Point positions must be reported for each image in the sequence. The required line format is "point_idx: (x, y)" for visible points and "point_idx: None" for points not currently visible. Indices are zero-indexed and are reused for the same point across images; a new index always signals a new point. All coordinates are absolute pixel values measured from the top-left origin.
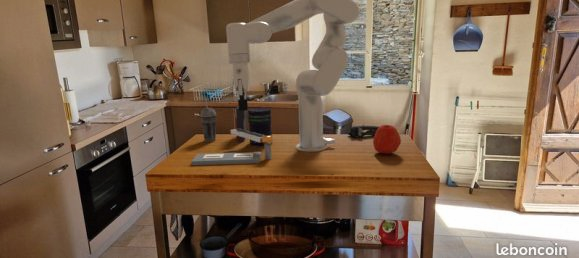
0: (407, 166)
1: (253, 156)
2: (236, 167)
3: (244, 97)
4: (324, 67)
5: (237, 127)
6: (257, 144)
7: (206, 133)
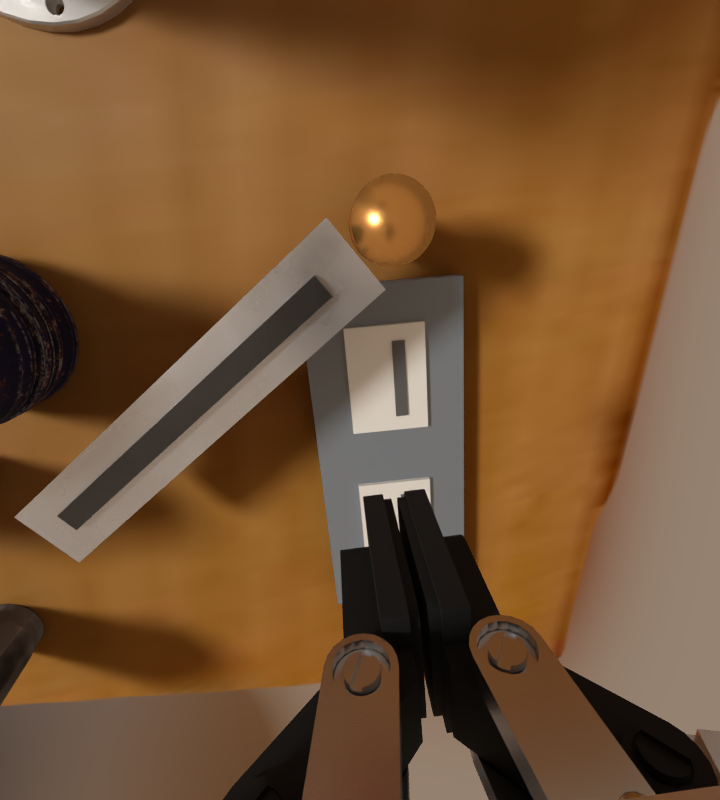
0: None
1: (405, 318)
2: (518, 381)
3: (553, 675)
4: None
5: None
6: (67, 347)
7: (10, 683)
